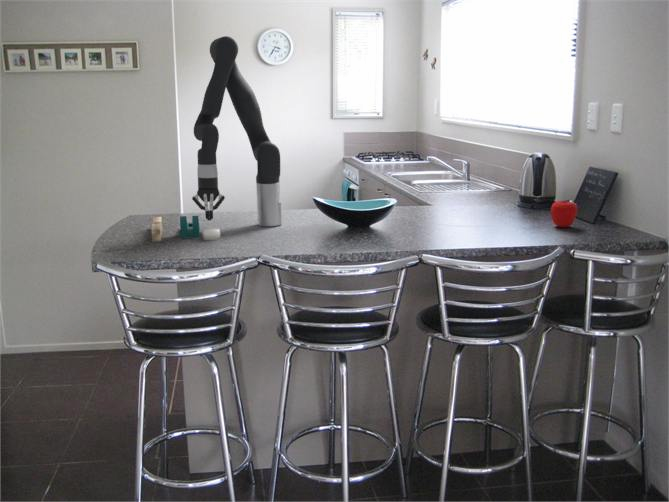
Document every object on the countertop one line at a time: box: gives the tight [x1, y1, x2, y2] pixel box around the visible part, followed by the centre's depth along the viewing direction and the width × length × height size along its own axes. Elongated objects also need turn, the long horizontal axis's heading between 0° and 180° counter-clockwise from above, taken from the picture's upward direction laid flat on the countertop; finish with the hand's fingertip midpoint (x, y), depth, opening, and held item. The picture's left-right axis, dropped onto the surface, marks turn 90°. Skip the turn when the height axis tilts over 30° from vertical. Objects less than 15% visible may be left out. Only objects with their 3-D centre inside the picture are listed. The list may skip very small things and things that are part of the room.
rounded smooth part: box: [202, 227, 221, 241], centre depth 248 cm, size 6×6×4 cm
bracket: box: [179, 215, 201, 239], centre depth 258 cm, size 18×7×8 cm, turn 11°
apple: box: [550, 200, 579, 228], centre depth 258 cm, size 10×10×11 cm
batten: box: [151, 216, 163, 243], centre depth 255 cm, size 3×24×5 cm, turn 13°
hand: (209, 220), depth 259 cm, fingers closed
